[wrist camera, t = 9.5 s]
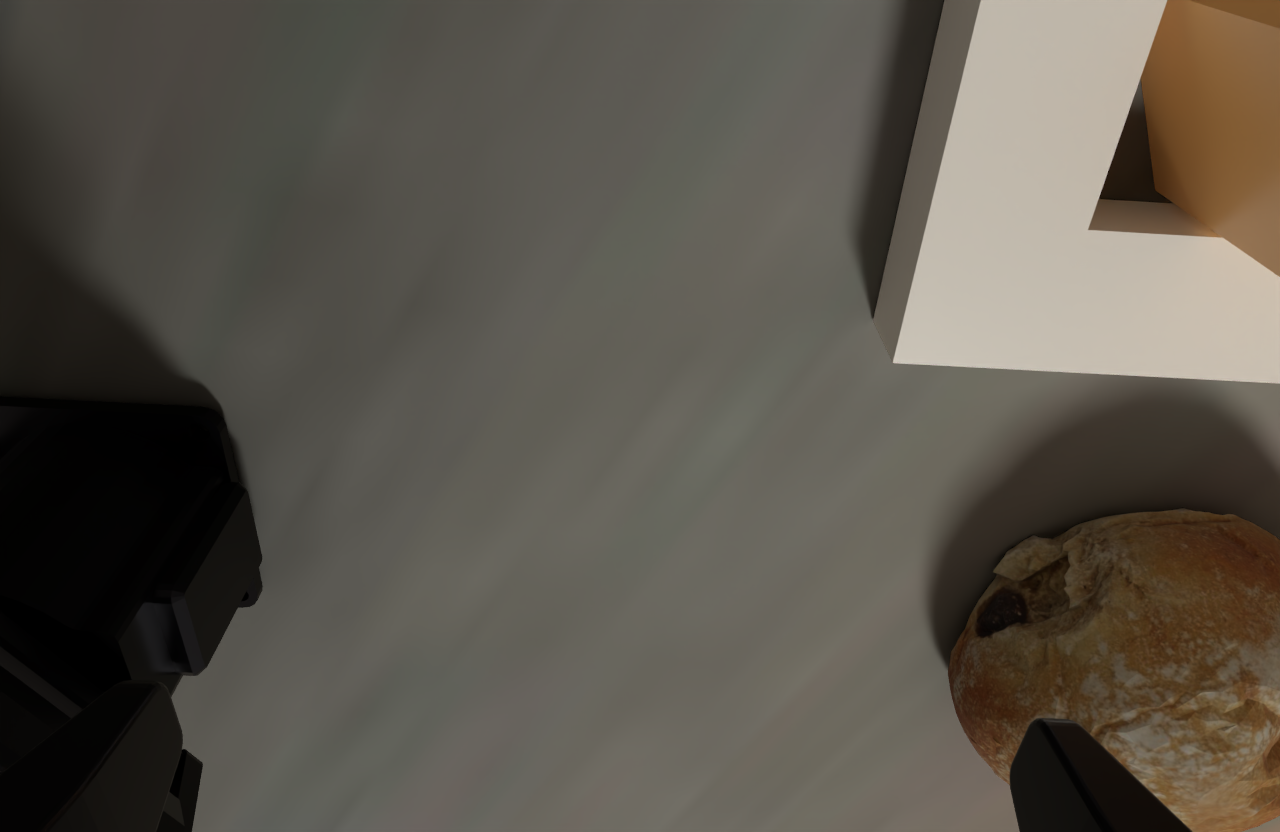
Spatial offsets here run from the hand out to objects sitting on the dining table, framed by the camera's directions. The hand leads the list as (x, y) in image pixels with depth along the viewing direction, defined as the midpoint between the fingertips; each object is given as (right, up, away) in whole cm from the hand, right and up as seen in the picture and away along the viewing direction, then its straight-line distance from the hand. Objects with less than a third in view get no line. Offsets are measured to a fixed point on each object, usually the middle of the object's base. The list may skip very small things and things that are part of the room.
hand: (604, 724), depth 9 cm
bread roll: (+15, -3, +18) cm, 23 cm away
